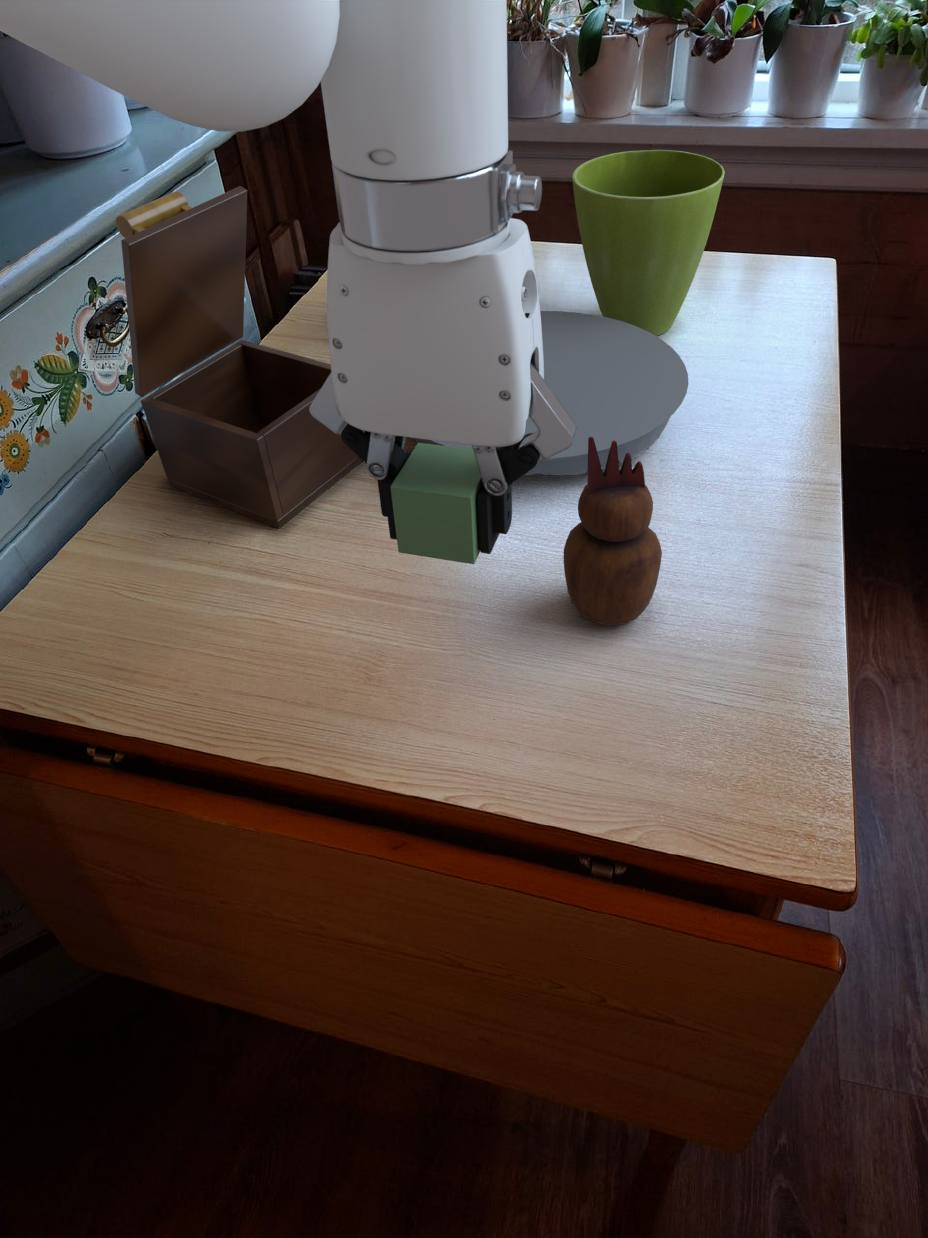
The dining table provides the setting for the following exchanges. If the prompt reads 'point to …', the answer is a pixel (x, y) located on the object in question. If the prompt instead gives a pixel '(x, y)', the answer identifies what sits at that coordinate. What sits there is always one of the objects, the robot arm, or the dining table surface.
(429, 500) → the block
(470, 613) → the dining table surface
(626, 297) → the flower pot
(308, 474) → the chest
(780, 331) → the dining table surface
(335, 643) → the dining table surface
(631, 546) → the wooden figurine
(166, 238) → the lid
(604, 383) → the flat disc
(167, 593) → the dining table surface
